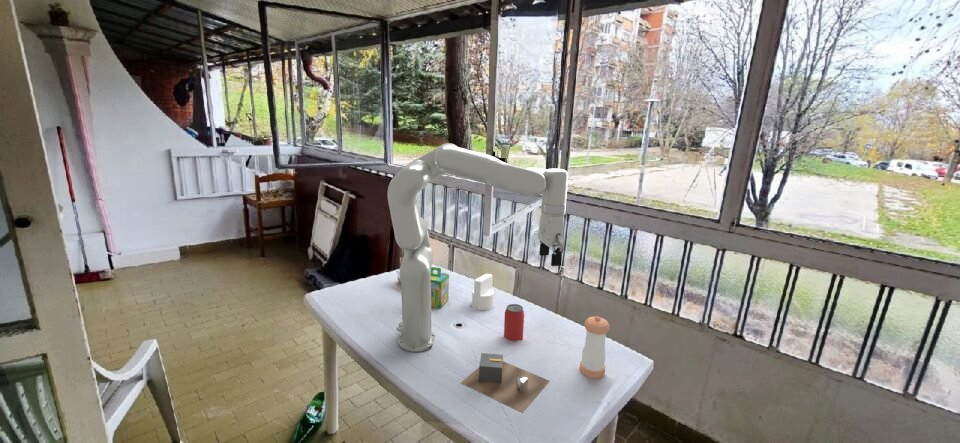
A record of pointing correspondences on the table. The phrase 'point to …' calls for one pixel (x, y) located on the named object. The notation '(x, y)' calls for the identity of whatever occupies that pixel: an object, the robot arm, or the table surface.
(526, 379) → the d shaft
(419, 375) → the table surface
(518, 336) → the beer can
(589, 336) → the pepper shaker
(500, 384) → the base plate
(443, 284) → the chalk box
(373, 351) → the table surface
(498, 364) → the grey cube with stripe
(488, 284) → the cylinder with rectangular tab
